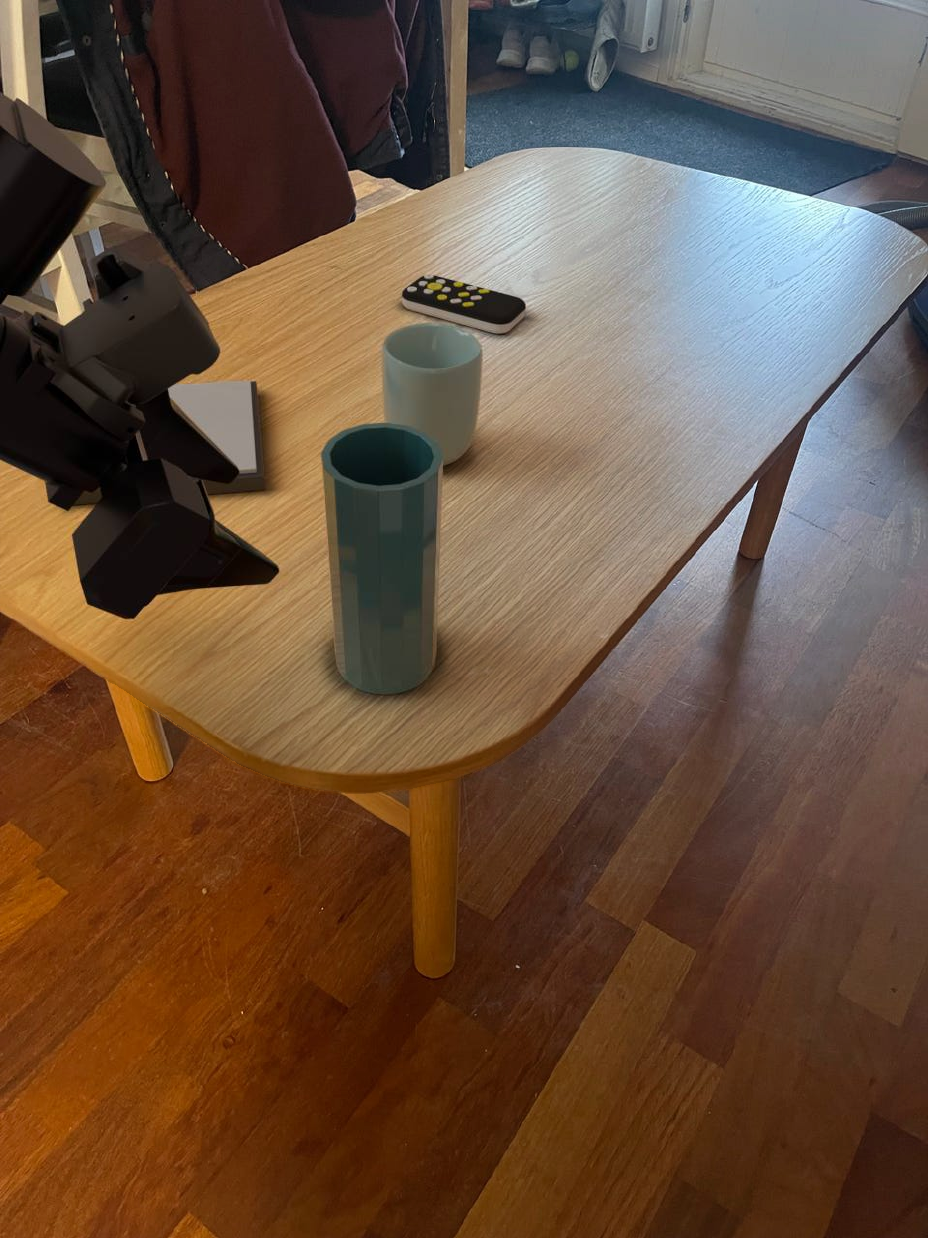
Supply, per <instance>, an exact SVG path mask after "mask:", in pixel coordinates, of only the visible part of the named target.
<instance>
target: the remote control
mask: <svg viewBox="0 0 928 1238" xmlns="http://www.w3.org/2000/svg"><path fill="white" fill-rule="evenodd" d="M401 303H402V306H403V307H404V308H405V309H406V310H409V311H413V312H416V313H420V314H423V315H427V316H430V317H431V316H432V317H434V318H437V319H442V320H445V321H449V322H452V323H456V324H459V325H464V326H467V327H470V328H473V329H477V330H478V329H479V330H480V331H481V330H482V331H485V332H489V333H493V334H506V333H508V332H509V331H511V330H512V329H513V328H514V327H515V326H516V325H517V324H518V323H519V322H521V320H522V319H524V317H525V316H526V307H527V304H526V302H525V301H524V299H523V298H521V297H518V296H515V295H511V294H508V293H503V292H499V291H496V290H492V289H490V288H489V289H488V288H484V287H481V286H477V285H473V284H469V283H466V282H462V281H458V280H454V279H451V278H446V277H442V276H439V275H435V274H432V273H426V274H424V275H422V276H420V277H419V278H417V279H416V280H414V281H413V282H412V283H410V284H409V285H408V286H406V287H405V288H404V289H403V290H402V293H401Z"/></svg>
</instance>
